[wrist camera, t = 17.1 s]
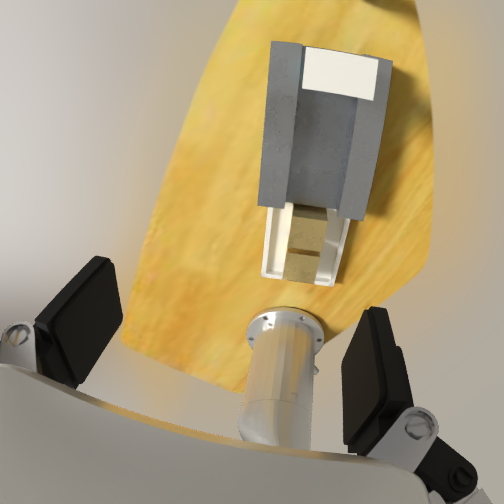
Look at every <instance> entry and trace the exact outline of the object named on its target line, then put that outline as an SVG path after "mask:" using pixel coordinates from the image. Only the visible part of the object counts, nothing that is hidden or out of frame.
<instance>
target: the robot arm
mask: <svg viewBox="0 0 504 504" xmlns="http://www.w3.org/2000/svg"><path fill="white" fill-rule="evenodd" d="M122 319H123V314H122V308H121V303H120V297H119V292H118V286H117V280H116V274H115V267H114V264H113V263H111V260H110V259H109V258H106V257H101V256H95V257H93V258H92V259H91V260H90V261H89V262H88V263H87V264H86V265H85V266H84V267H83V268H82V269H81V270H80V272H78V274H77V275H75V276H74V278H72V280H71V281H70V282H69V283H68V284H67V285H66V286H65V287H64V288H63V289H62V290H61V291H60V292H59V293H58V294H57V295H56V296H55V298H54V299H53V300H52V301H51V302H50V303H49V304H48V305H47V307H46V308H45V309H44V310H43V311H42V312H41V313H40V314H39V315H38V316H37V318H36V319H35V324H34V325H33V326H32V325H31V324H30V323H28V322H25V321H18V322H15V323H12V324H11V325H9V326H8V327H7V328H6V329H5V330H4V332H3V333H2V337H1V341H0V504H492V503H491V501H490V500H489V498H488V496H487V495H486V493H485V492H484V490H483V489H482V488H481V489H478V488H477V486H476V485H477V480H478V476H477V472H476V469H475V468H474V466H473V465H472V464H471V463H470V462H469V461H467V460H466V459H465V458H464V457H462V456H461V455H460V454H459V453H457V452H456V451H455V450H454V449H452V448H451V447H450V446H449V445H448V444H446V443H445V442H444V441H443V440H441V439H440V438H439V437H438V436H437V434H438V428H439V426H438V422H437V420H436V418H435V416H434V415H433V414H432V413H431V412H430V411H428V410H426V409H425V408H421V407H414V404H413V398H412V393H411V388H410V384H409V379H408V374H407V370H406V365H405V361H404V357H403V353H402V350H401V348H400V347H399V346H396V344H395V340H394V336H393V332H392V328H391V324H390V320H389V316H388V312H387V309H386V308H380V307H373V306H371V307H370V308H369V310H364V312H363V314H362V316H361V319H360V321H359V323H358V326H357V328H356V331H355V333H354V335H353V338H352V340H351V342H350V345H349V347H348V349H347V351H346V353H345V356H344V358H343V361H342V366H341V370H342V371H341V372H342V396H343V442H344V444H345V445H348V453H357V455H349V454H340V453H329V452H318V451H310V441H311V420H312V402H313V378H314V375H316V374H317V373H318V372H319V370H318V369H317V367H316V366H315V365H314V356H315V355H316V354H317V353H318V352H319V351H320V349H321V348H322V346H323V343H324V330H323V327H322V325H321V324H320V322H319V321H318V320H317V319H316V318H315V317H314V316H312V315H311V314H309V313H307V312H305V311H302V310H300V309H295V308H289V307H277V308H272V309H268V310H265V311H262V312H261V313H259V314H257V315H256V316H255V317H254V318H253V319H252V320H251V321H250V323H249V325H248V328H247V334H246V336H247V341H248V344H249V345H250V347H251V348H252V349H253V352H252V357H251V362H250V366H249V371H248V376H247V381H246V386H245V390H244V395H243V400H242V405H241V409H240V414H239V418H238V428H239V432H240V435H241V437H242V439H243V441H242V440H237V439H232V438H227V437H223V436H218V435H214V434H209V433H205V432H201V431H197V430H193V429H189V428H185V427H181V426H178V425H174V424H171V423H167V422H163V421H160V420H157V419H153V418H150V417H147V416H144V415H141V414H138V413H135V412H132V411H129V410H126V409H123V408H121V407H118V406H115V405H112V404H110V403H107V402H104V401H101V400H99V399H97V398H94V397H91V396H89V395H87V394H84V393H82V392H79V391H77V390H76V388H77V387H78V385H79V384H82V383H83V382H84V381H85V379H86V378H87V376H88V374H89V373H90V371H91V370H92V368H93V366H94V365H95V363H96V362H97V360H98V358H99V357H100V355H101V354H102V352H103V350H104V349H105V347H106V346H107V344H108V343H109V341H110V340H111V338H112V337H113V335H114V334H115V332H116V331H117V329H118V328H119V326H120V325H121V323H122ZM65 385H66V386H65Z"/></svg>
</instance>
